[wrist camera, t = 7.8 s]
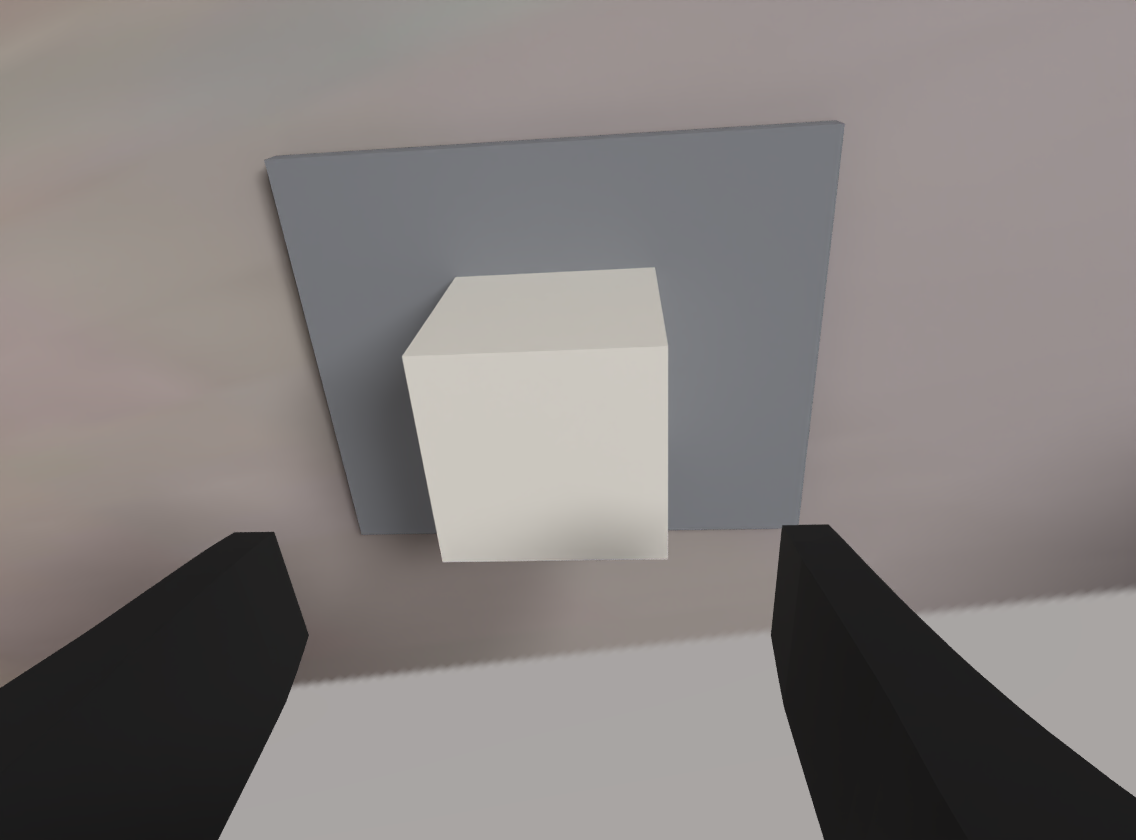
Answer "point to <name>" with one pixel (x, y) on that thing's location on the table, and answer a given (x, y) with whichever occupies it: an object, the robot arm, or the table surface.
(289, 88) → the table surface
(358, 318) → the gray mat
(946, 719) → the robot arm
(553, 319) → the cream cube
